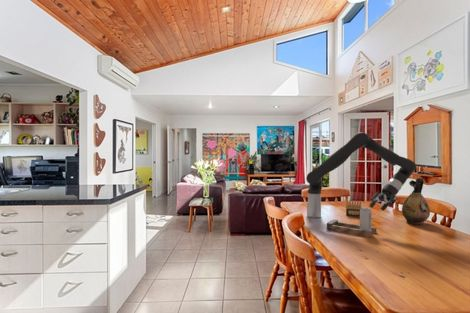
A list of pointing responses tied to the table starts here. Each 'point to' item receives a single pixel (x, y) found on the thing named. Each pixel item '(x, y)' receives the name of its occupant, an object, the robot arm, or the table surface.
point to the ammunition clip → (353, 208)
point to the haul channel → (349, 228)
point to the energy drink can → (365, 218)
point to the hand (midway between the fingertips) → (376, 208)
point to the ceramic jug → (416, 204)
